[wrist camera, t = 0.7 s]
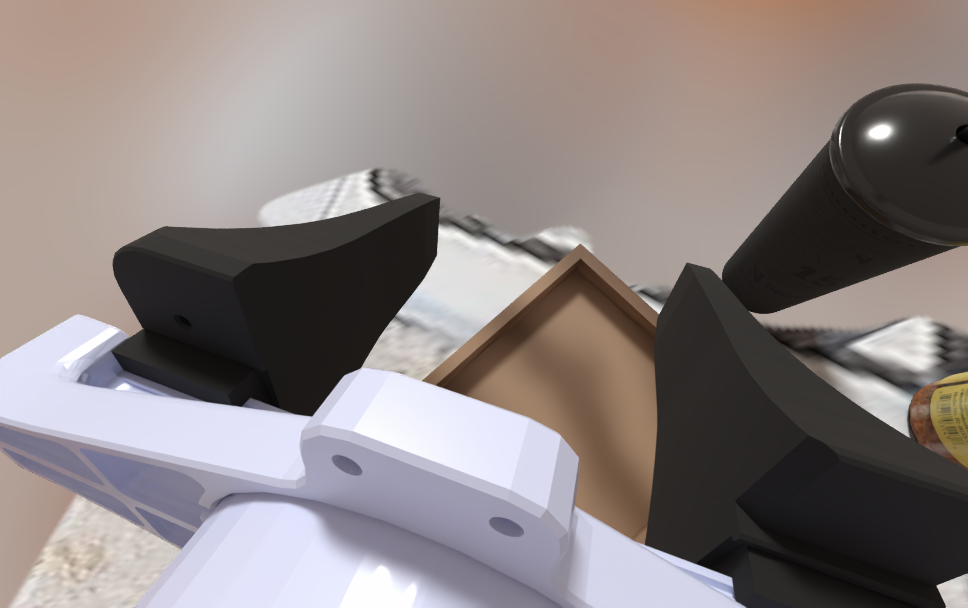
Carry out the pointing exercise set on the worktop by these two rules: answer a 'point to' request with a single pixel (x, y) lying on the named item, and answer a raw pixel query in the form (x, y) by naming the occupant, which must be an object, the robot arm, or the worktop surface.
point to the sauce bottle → (943, 417)
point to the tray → (576, 380)
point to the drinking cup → (863, 201)
